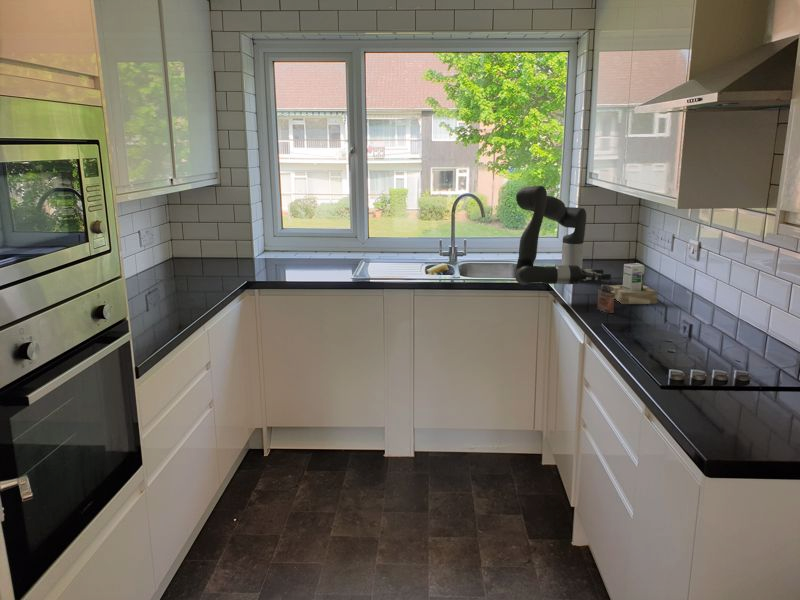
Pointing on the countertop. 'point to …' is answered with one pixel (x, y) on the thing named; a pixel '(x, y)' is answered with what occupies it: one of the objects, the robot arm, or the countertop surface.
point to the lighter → (606, 299)
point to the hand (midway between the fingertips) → (606, 274)
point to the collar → (635, 295)
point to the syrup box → (633, 277)
